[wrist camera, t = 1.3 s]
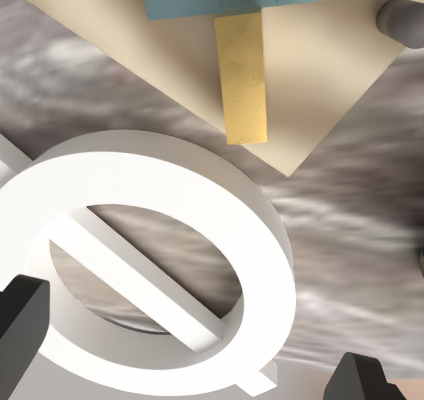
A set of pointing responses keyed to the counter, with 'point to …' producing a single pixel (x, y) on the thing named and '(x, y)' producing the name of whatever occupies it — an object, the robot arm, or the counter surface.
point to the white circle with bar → (142, 267)
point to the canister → (422, 261)
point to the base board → (273, 57)
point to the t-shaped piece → (233, 58)
